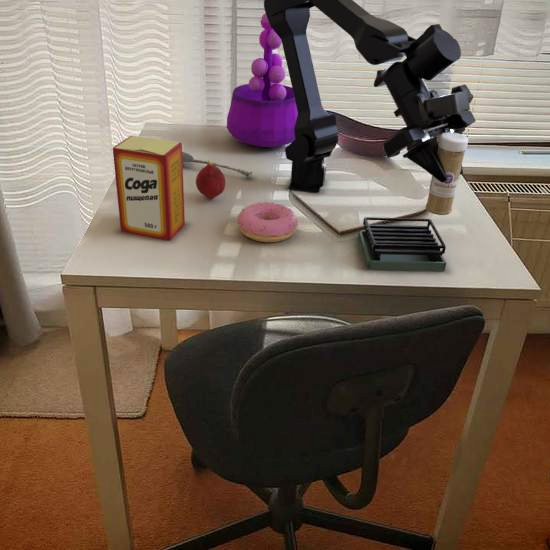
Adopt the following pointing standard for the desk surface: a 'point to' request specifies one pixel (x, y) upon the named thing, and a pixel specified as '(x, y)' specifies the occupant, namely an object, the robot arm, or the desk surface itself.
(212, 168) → the onion
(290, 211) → the doughnut
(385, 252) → the rack
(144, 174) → the baking soda box
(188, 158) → the soupspoon
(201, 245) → the desk surface
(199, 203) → the desk surface
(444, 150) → the sprinkles bottle
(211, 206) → the desk surface
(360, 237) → the drip tray
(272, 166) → the desk surface
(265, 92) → the decorative plant
